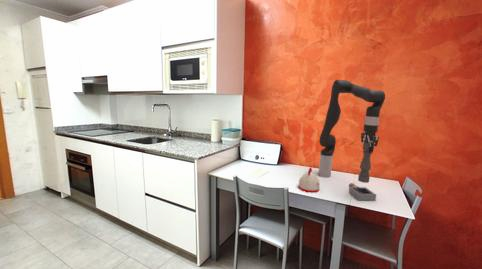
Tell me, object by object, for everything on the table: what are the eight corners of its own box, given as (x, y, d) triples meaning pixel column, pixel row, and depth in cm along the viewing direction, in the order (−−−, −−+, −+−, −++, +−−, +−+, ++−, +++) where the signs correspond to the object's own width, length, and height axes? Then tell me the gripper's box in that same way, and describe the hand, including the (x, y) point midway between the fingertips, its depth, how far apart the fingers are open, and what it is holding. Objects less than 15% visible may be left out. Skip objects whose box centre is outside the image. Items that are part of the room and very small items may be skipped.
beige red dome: (296, 189, 151) (297, 168, 148) (300, 182, 163) (302, 163, 160) (317, 194, 145) (319, 172, 142) (320, 187, 157) (322, 166, 154)
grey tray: (343, 189, 155) (344, 182, 154) (358, 189, 155) (359, 182, 154) (358, 201, 137) (359, 194, 136) (375, 201, 138) (376, 194, 137)
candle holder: (371, 182, 138) (376, 143, 133) (361, 182, 138) (366, 143, 133) (365, 179, 144) (370, 141, 139) (356, 178, 144) (360, 141, 139)
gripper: (385, 125, 127) (381, 154, 130) (369, 122, 141) (366, 148, 144) (372, 125, 127) (368, 154, 130) (358, 122, 141) (355, 148, 144)
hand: (367, 150), depth 137 cm, fingers closed on candle holder, 5 cm apart
